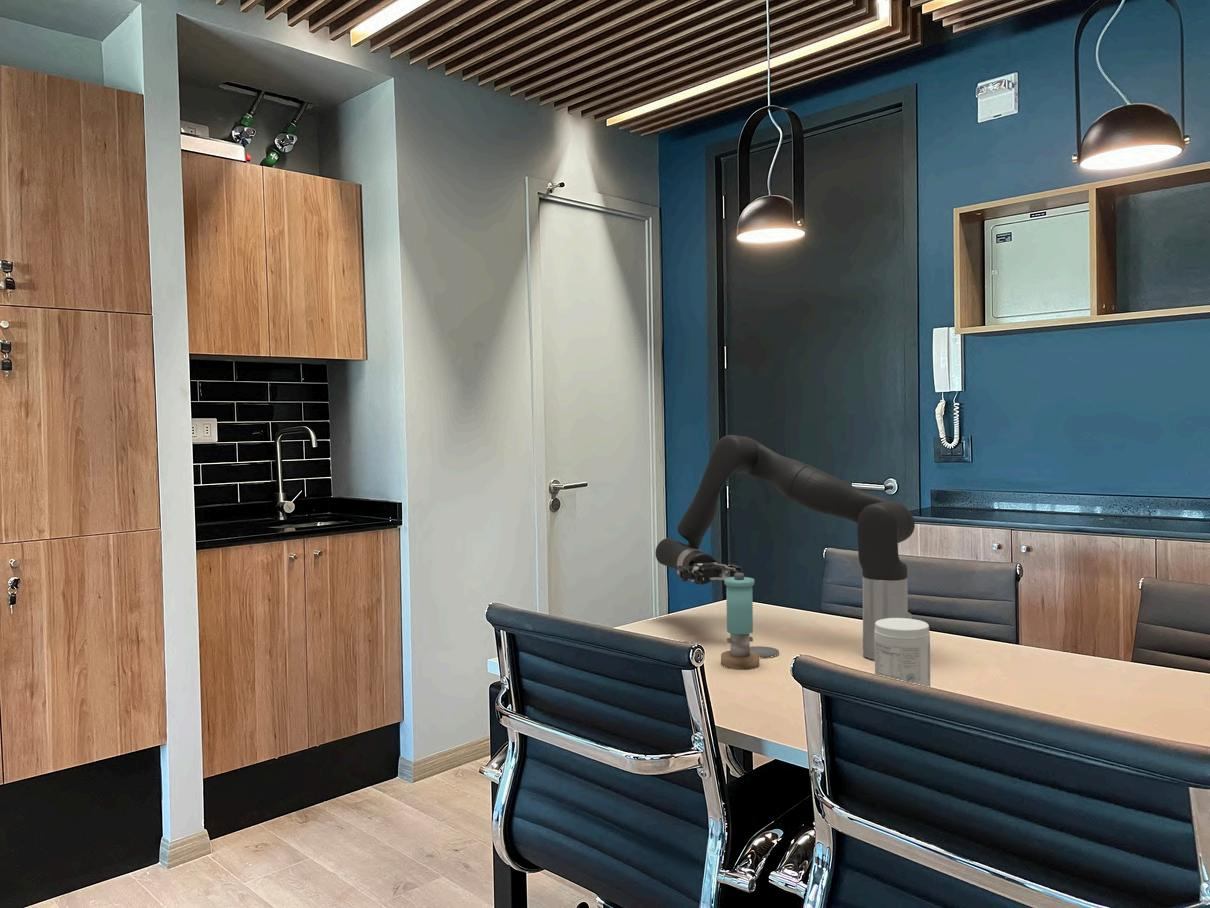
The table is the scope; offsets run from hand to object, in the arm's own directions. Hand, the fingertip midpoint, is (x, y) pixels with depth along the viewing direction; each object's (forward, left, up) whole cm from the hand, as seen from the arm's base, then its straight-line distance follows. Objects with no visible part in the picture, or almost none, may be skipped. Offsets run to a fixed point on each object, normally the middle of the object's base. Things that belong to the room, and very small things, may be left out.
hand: (720, 578), depth 201 cm
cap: (0, +11, -9) cm, 15 cm away
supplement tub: (-18, +44, -17) cm, 51 cm away
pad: (-8, +4, -16) cm, 19 cm away
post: (0, +11, -16) cm, 20 cm away
